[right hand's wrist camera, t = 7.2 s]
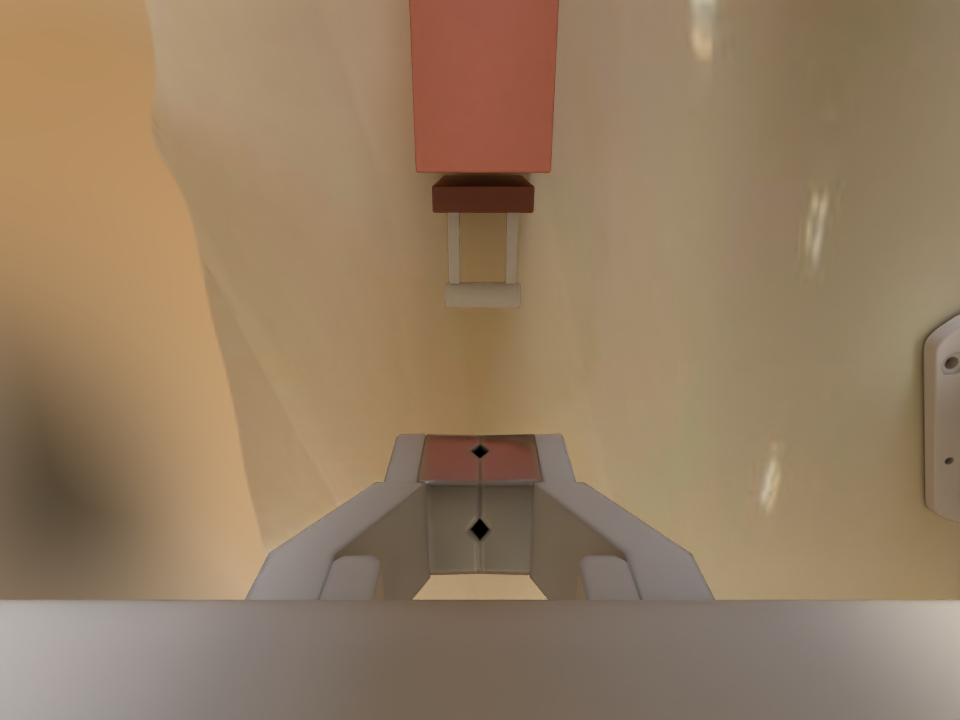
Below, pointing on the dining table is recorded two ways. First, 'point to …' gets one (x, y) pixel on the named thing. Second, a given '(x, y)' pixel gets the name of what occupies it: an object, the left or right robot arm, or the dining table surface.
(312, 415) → the dining table surface
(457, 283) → the drawer
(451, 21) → the long terracotta box
